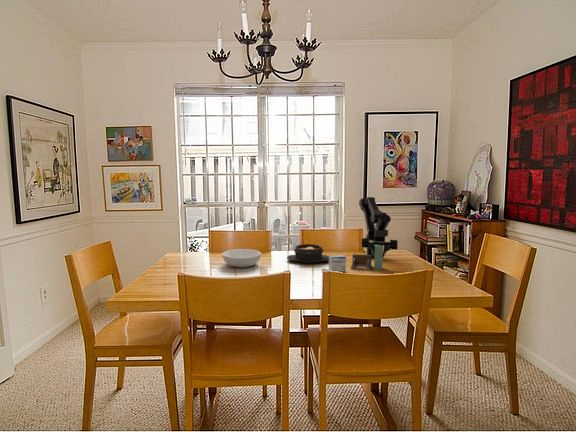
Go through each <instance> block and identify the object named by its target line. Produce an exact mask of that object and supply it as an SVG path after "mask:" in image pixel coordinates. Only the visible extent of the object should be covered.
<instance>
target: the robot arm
mask: <svg viewBox="0 0 576 432" xmlns="http://www.w3.org/2000/svg"><path fill="white" fill-rule="evenodd" d="M358 205H359V208H360V210H361V211H362V212H363V215H364V219H365V220H364V221H365V225H366V232H367V234H366V236H365V238H364V237H363V238H361V247H362V248H366V255H371V259H374V258H375V244H377V245H383V256H382V258H383V259H384V257H385V255H386V253H388V251H391V250H398V243H399V242H398V239H390V240H389V241H386V237H389V230H388V229H386V228H388V226H389V224H390V222H391V219H392V218H391V216H390V215H388V214H387V213H386V212H384V211H381V210H380V209H379V207H378V204H377V203H376V198H375V197H373V196H370V197H369V196H367V197H364V198H360V200H359V201H358Z"/></svg>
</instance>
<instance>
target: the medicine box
mask: <svg viewBox="0 0 576 432" xmlns="http://www.w3.org/2000/svg"><path fill="white" fill-rule="evenodd" d="M328 256H329V260H328V271H329V270H332V271H339V272H347V256H346V255H344V254H338V255H337V254H335V255H333V254H332V255H328Z"/></svg>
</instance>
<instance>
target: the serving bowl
mask: <svg viewBox="0 0 576 432" xmlns="http://www.w3.org/2000/svg"><path fill="white" fill-rule="evenodd" d="M261 256H262V253H261V252H260V251H259V250H256V249H250V248H238V249H237V248H236V249H229V250H226V251H224V252H222V258H223V261H224V263H225V264H227V266H232V267H235V268H248V267H251V266H254V265H256V264H257V263H258V262H259V261H260V259H261Z"/></svg>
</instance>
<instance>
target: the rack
mask: <svg viewBox="0 0 576 432" xmlns="http://www.w3.org/2000/svg"><path fill="white" fill-rule="evenodd" d="M351 261H352V262H351V266H350V270H356V269H359V271H371V268H372V258H371V255H367V254H360V253H359V254H358V253H357V254H356V253H352V260H351Z"/></svg>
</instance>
